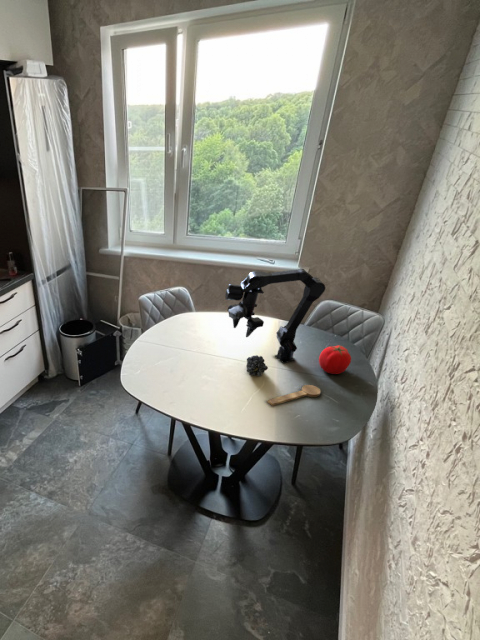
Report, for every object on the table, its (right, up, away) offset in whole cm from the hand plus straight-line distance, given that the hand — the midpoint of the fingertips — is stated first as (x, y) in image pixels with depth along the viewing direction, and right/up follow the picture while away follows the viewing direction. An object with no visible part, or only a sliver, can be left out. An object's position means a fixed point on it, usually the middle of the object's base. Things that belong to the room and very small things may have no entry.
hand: (240, 332), depth 184 cm
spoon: (+14, -29, -20) cm, 38 cm away
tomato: (+39, -18, -5) cm, 43 cm away
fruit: (+5, -18, -3) cm, 19 cm away
